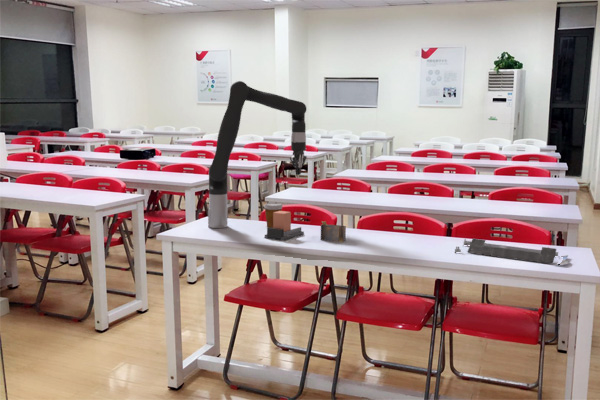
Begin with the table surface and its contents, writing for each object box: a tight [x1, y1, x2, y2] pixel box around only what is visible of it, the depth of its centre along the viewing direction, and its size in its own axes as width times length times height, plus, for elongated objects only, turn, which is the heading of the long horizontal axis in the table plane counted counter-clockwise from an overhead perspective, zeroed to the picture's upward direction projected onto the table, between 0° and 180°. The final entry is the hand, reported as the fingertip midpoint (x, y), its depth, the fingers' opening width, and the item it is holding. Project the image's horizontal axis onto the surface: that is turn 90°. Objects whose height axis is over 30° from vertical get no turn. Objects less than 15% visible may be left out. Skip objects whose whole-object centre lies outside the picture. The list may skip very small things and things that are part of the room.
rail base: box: [264, 226, 305, 242], centre depth 277 cm, size 17×11×5 cm, turn 147°
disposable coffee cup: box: [263, 202, 283, 228], centre depth 299 cm, size 10×10×12 cm
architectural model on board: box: [320, 220, 347, 243], centre depth 269 cm, size 11×3×10 cm, turn 69°
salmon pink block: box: [273, 210, 292, 232], centre depth 275 cm, size 6×6×10 cm
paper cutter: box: [454, 238, 570, 266], centre depth 245 cm, size 18×45×6 cm, turn 58°
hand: (298, 174), depth 300 cm, fingers closed
